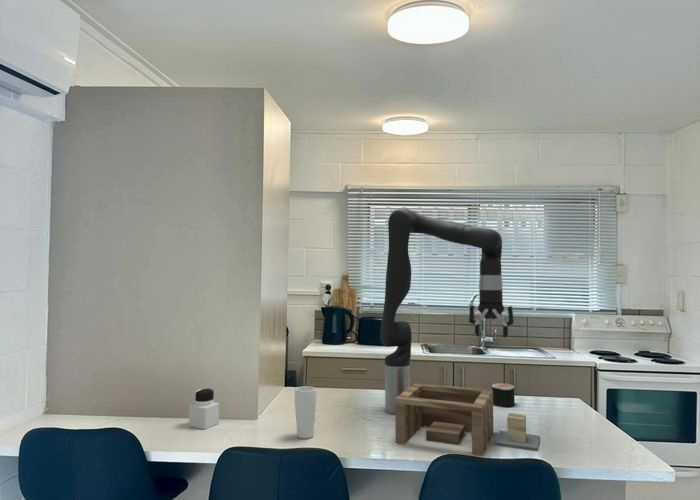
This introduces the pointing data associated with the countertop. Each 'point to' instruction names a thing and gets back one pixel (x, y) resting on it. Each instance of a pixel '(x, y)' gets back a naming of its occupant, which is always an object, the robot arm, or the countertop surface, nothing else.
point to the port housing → (445, 414)
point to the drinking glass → (305, 411)
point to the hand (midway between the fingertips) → (491, 336)
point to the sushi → (503, 395)
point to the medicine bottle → (204, 410)
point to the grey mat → (529, 444)
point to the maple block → (516, 427)
